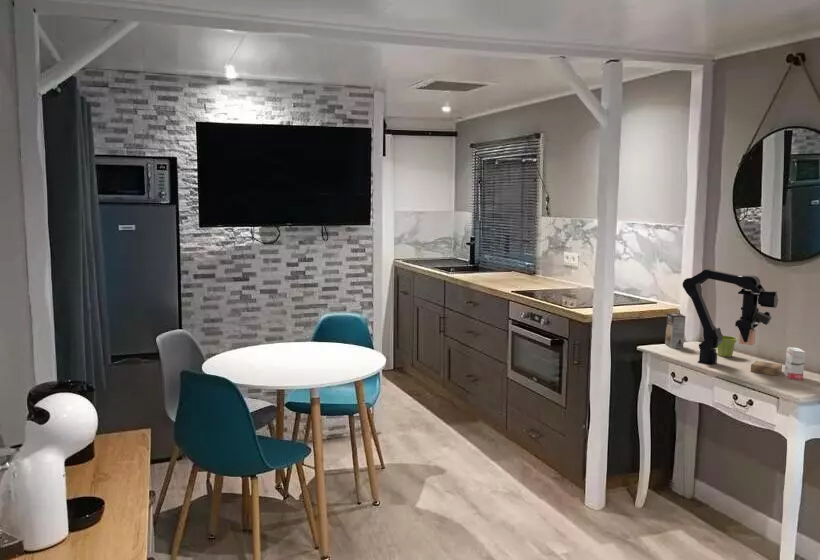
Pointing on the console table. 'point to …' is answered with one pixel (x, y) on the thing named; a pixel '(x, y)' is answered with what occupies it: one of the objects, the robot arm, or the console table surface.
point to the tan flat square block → (766, 368)
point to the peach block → (750, 339)
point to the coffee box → (675, 330)
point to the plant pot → (726, 346)
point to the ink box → (794, 363)
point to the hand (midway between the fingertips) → (747, 341)
